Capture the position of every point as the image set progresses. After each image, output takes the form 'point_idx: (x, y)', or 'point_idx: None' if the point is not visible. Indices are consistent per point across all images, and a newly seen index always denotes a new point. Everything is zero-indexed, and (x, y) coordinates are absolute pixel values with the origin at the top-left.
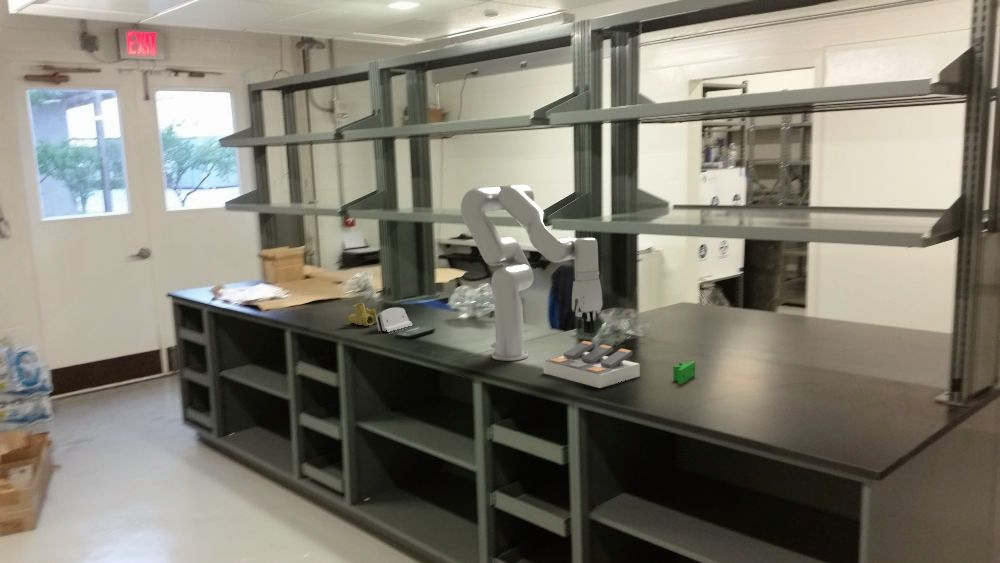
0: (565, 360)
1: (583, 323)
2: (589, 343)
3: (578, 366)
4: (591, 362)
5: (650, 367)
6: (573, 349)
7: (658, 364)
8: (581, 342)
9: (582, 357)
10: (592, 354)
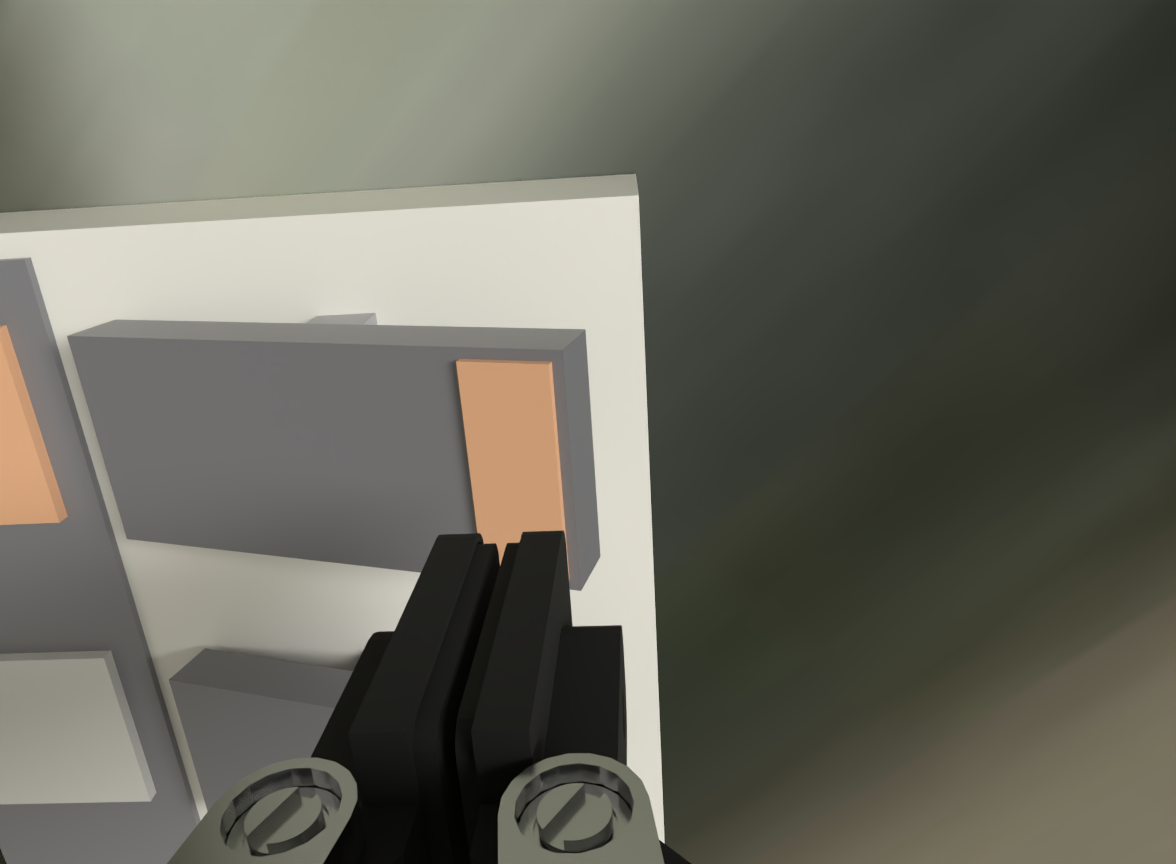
0: (2, 522)
1: (384, 658)
2: (514, 540)
3: (8, 804)
4: None
5: (1004, 806)
6: (239, 399)
7: (1166, 790)
8: (472, 364)
9: (182, 689)
10: None
